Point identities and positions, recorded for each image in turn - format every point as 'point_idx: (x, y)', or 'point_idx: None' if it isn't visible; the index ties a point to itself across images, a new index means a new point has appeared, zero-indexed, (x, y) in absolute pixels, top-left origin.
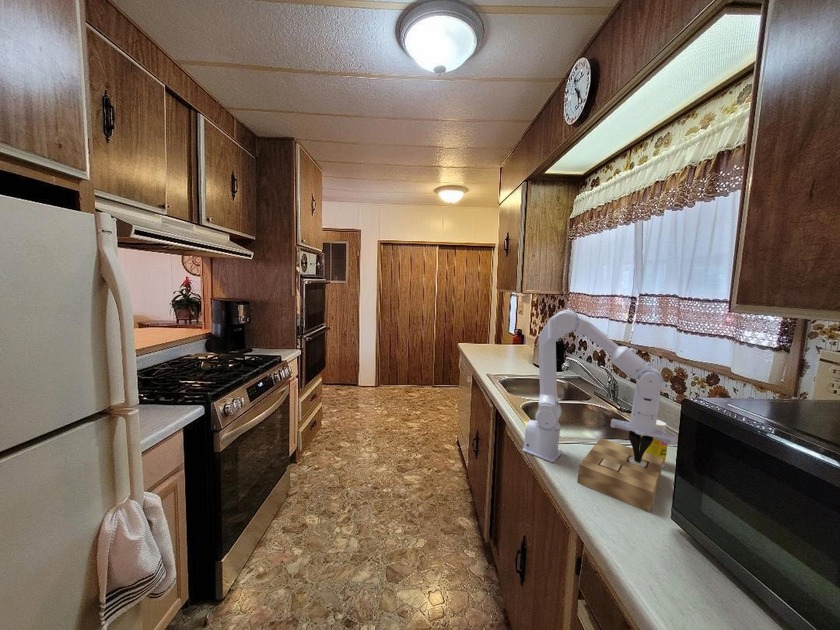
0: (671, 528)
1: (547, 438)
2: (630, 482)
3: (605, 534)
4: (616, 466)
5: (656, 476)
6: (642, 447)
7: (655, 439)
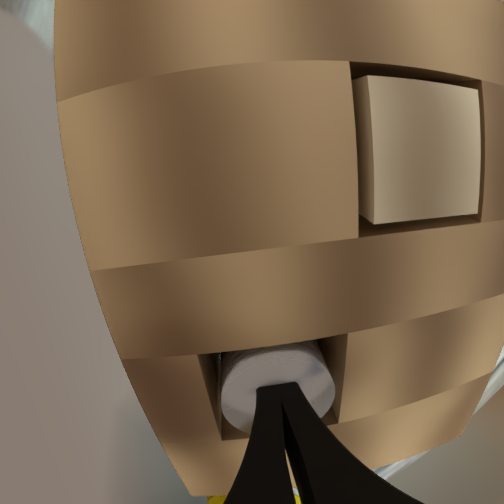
0: (29, 12)
1: None
2: None
3: None
4: (393, 157)
5: (101, 286)
6: (267, 501)
7: None
